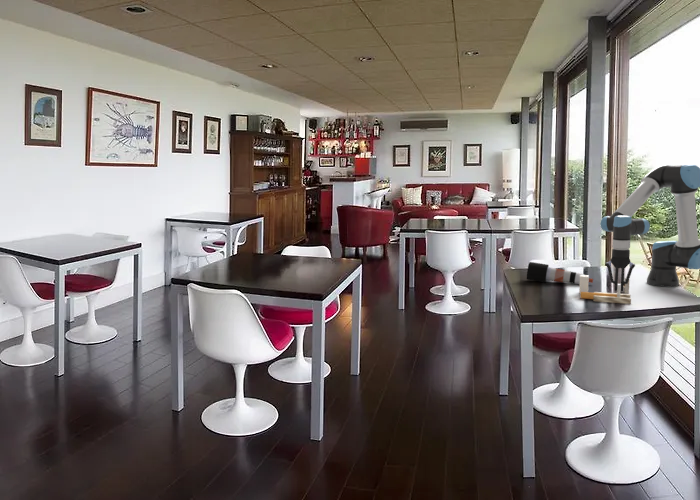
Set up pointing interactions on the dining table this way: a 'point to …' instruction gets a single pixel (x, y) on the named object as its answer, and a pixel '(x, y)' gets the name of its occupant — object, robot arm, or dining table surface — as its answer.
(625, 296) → the clip rails
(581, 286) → the white tall block
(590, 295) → the orange rod
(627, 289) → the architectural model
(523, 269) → the dining table surface
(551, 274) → the black white tapered cylinder
